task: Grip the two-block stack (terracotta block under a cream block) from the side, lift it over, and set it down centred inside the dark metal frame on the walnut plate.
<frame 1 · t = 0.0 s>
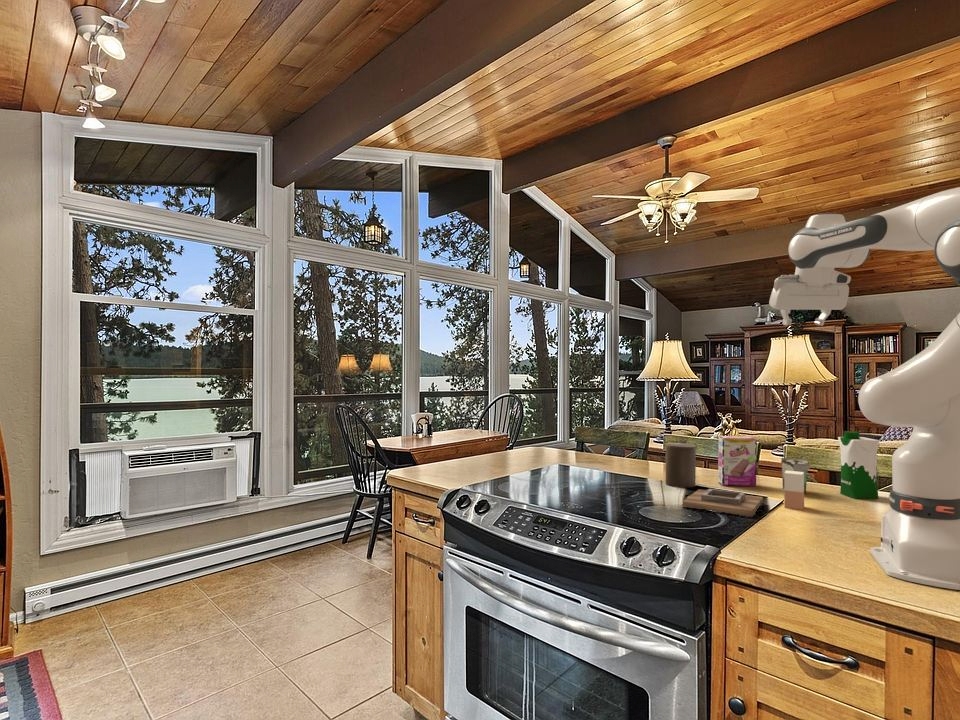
hand: (802, 324, 150), 52 cm above the worktop, tool tilted 20°, fingers open, 8 cm apart
candy bar box: (737, 485, 184), on the worktop
milk carton: (859, 496, 168), on the worktop
walnut plate: (723, 505, 157), on the worktop
block stack: (794, 507, 156), on the worktop
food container: (798, 492, 174), on the worktop
pillar candle: (680, 485, 186), on the worktop
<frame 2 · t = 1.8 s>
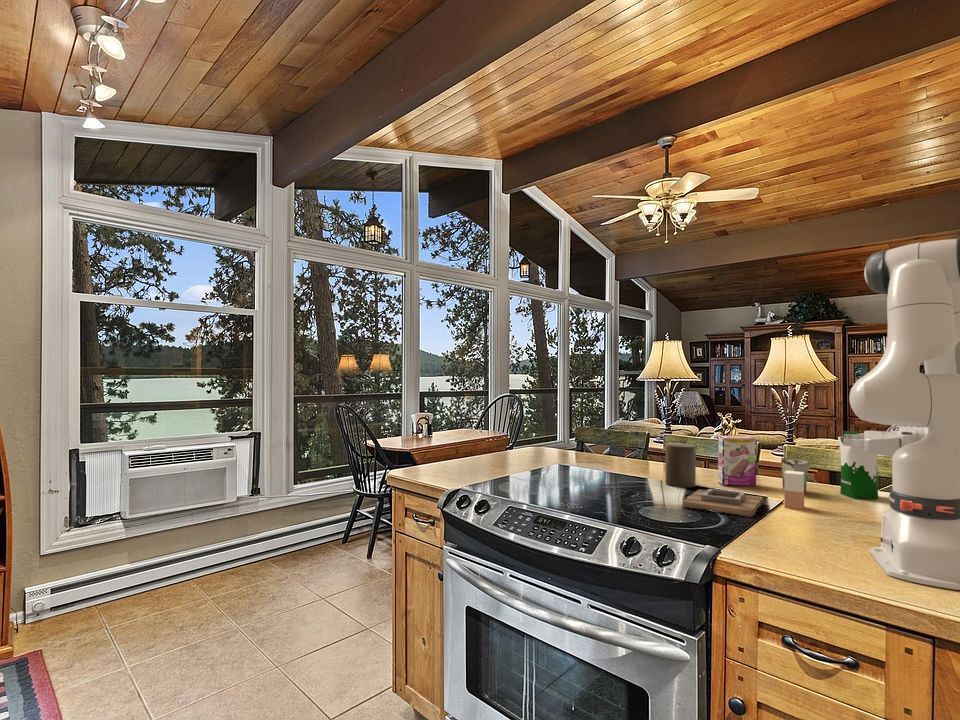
hand: (843, 439, 149), 20 cm above the worktop, tool horizontal, fingers open, 8 cm apart
nothing on the worktop moved.
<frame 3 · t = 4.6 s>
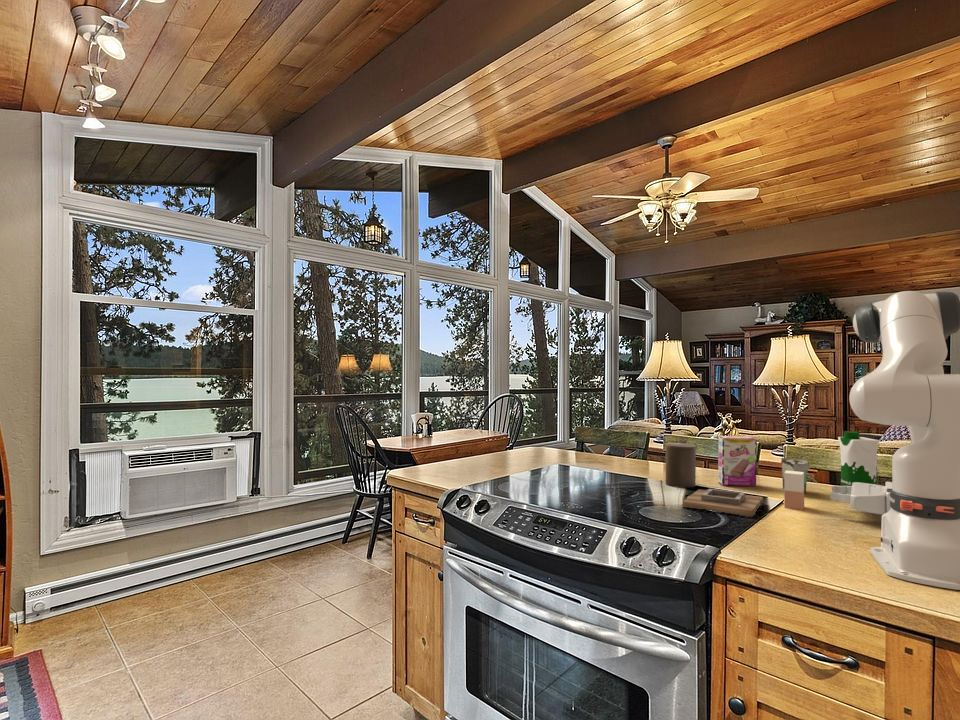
hand: (831, 492, 150), 5 cm above the worktop, tool horizontal, fingers open, 8 cm apart
nothing on the worktop moved.
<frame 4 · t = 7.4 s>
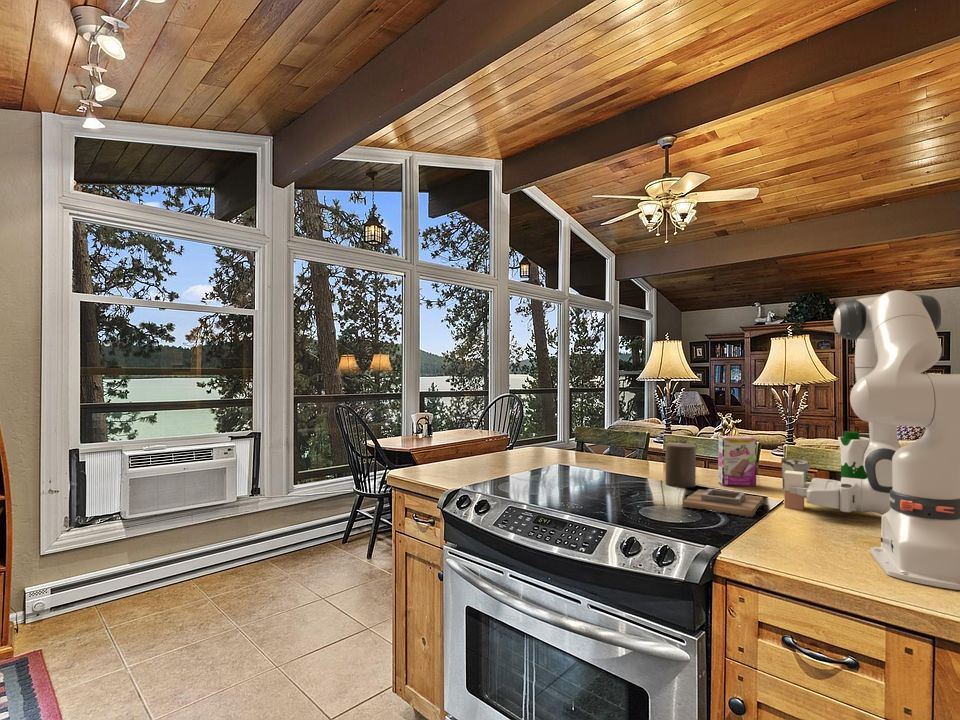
hand: (790, 487, 156), 6 cm above the worktop, tool horizontal, fingers closed on block stack, 4 cm apart
block stack: (794, 507, 156), on the worktop, touching gripper
everything else where it was.
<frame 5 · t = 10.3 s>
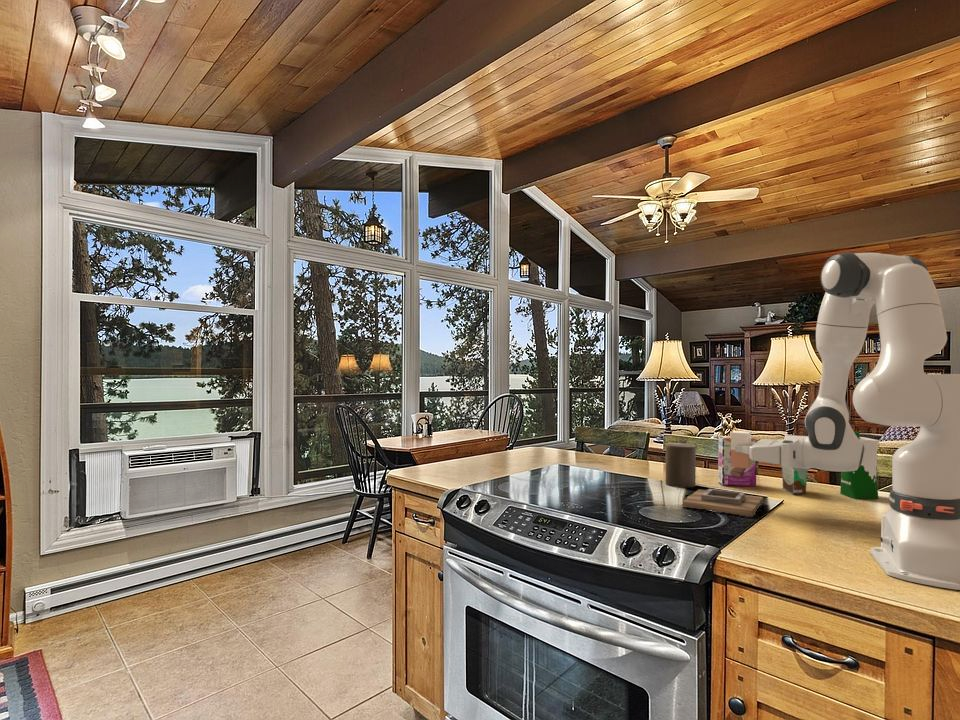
hand: (737, 447, 158), 17 cm above the worktop, tool horizontal, fingers closed on block stack, 4 cm apart
block stack: (741, 466, 157), point 11 cm above the worktop, touching gripper
everything else where it was.
when the fingers open (9 cm above the worktop, at t = 13.5 s): block stack drops 1 cm, resting on walnut plate.
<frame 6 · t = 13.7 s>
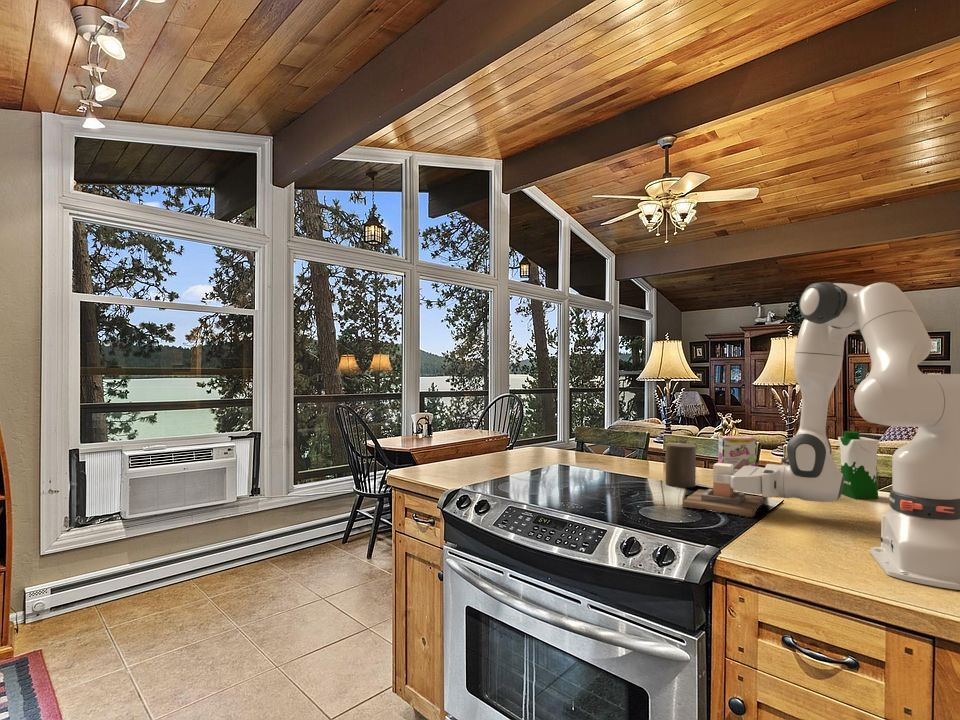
hand: (719, 474, 158), 9 cm above the worktop, tool horizontal, fingers open, 6 cm apart
block stack: (723, 499, 157), point 2 cm above the worktop, touching walnut plate
everything else where it was.
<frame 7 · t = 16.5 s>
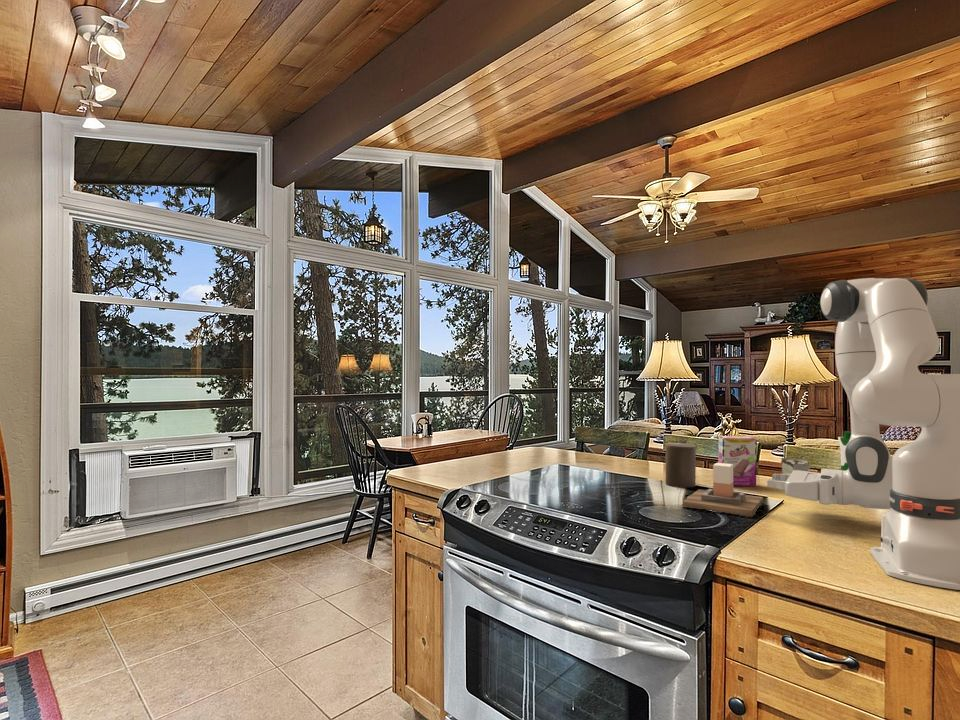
hand: (770, 479, 150), 9 cm above the worktop, tool horizontal, fingers open, 8 cm apart
nothing on the worktop moved.
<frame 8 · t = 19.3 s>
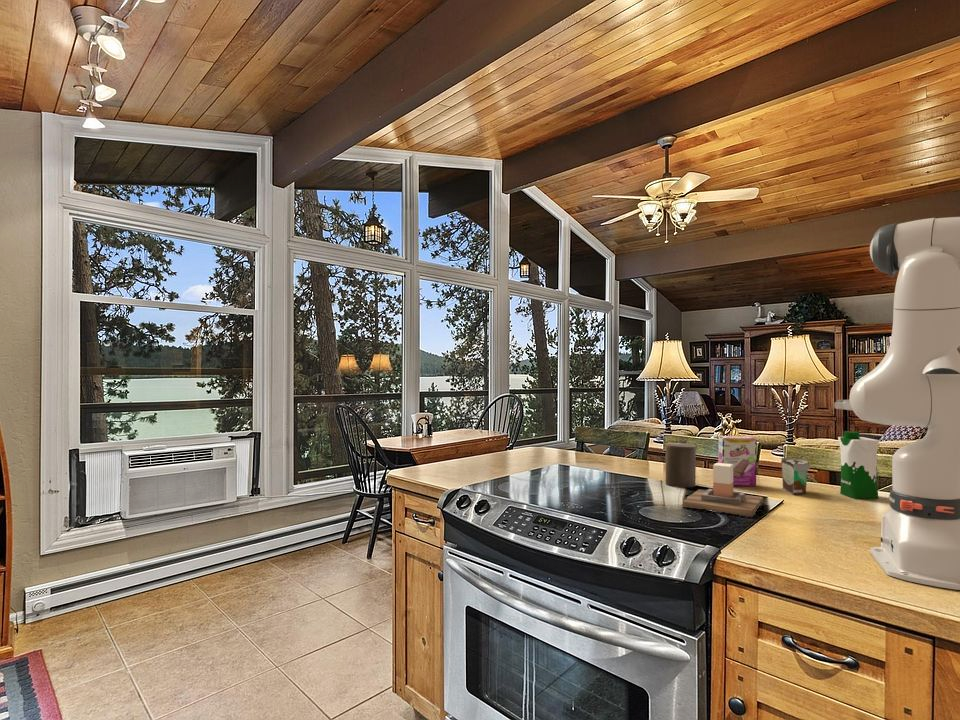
hand: (835, 404, 150), 30 cm above the worktop, tool horizontal, fingers open, 8 cm apart
nothing on the worktop moved.
at the end: block stack 0.0 cm off-centre on the walnut plate, point 2.0 cm above the walnut plate's base; block stack tilted 0°; the gripper is holding nothing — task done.
